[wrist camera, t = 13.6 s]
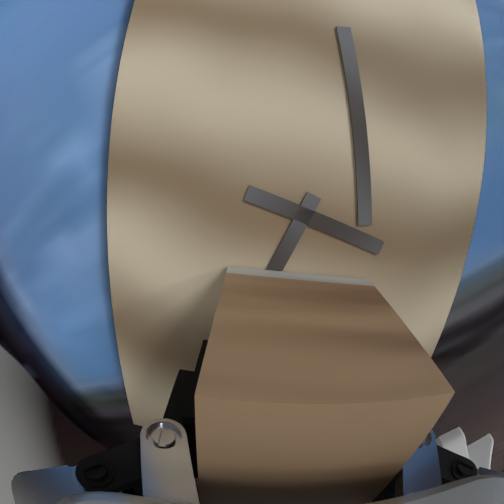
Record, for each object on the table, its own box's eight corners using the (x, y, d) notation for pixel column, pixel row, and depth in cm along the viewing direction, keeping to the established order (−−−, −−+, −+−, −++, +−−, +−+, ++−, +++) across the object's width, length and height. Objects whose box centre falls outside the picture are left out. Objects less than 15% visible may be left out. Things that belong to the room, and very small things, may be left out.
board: (169, -57, 7) (160, -75, 6) (457, -3, 7) (473, -14, 6) (141, 405, 14) (133, 425, 13) (380, 420, 15) (387, 439, 13)
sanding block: (228, 266, 10) (194, 395, 4) (368, 279, 10) (454, 392, 4) (217, 421, 13) (202, 531, 7) (320, 427, 13) (339, 531, 7)
